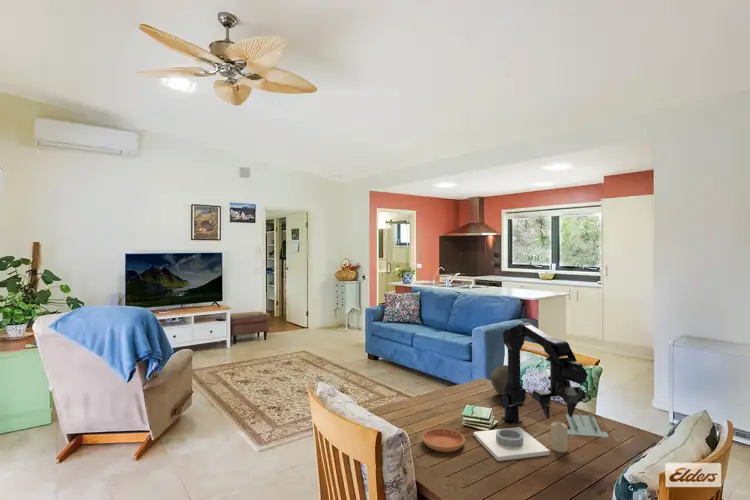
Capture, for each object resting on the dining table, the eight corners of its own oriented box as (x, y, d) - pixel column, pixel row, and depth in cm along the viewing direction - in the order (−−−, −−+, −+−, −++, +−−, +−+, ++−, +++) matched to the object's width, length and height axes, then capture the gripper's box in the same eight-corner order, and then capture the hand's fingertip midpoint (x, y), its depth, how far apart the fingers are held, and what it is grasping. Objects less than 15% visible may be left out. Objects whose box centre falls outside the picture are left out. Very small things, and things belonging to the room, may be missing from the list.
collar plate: (473, 435, 166) (473, 425, 166) (519, 430, 170) (519, 420, 170) (497, 461, 146) (497, 449, 146) (549, 454, 150) (549, 443, 150)
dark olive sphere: (488, 390, 216) (488, 361, 216) (516, 391, 215) (516, 362, 215) (493, 400, 202) (493, 369, 202) (523, 401, 201) (523, 370, 201)
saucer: (439, 431, 170) (439, 424, 170) (473, 444, 159) (473, 436, 159) (413, 445, 159) (413, 437, 159) (448, 460, 148) (448, 451, 148)
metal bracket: (560, 409, 178) (598, 411, 175) (559, 420, 179) (597, 423, 176) (568, 432, 164) (610, 435, 161) (567, 445, 166) (609, 448, 163)
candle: (566, 454, 150) (566, 426, 150) (550, 450, 153) (549, 423, 153) (568, 447, 155) (568, 420, 155) (552, 444, 158) (552, 417, 158)
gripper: (549, 384, 144) (549, 429, 144) (596, 380, 148) (596, 424, 148) (530, 374, 155) (531, 416, 155) (575, 371, 159) (575, 412, 159)
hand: (558, 417), depth 154 cm, fingers open, 9 cm apart
